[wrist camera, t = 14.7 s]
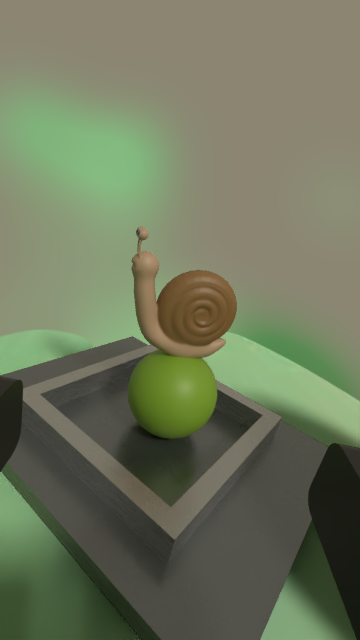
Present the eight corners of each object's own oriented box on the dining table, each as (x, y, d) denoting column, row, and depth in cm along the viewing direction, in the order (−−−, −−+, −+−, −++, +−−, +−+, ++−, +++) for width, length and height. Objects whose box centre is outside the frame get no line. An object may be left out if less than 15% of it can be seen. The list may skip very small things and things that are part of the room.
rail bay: (-54, 405, 20) (-56, 370, 19) (130, 345, 33) (134, 322, 32) (218, 731, 10) (240, 689, 9) (334, 464, 23) (348, 436, 22)
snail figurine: (104, 399, 23) (131, 219, 18) (193, 402, 24) (236, 239, 20) (106, 460, 18) (144, 236, 14) (216, 459, 20) (280, 260, 15)
